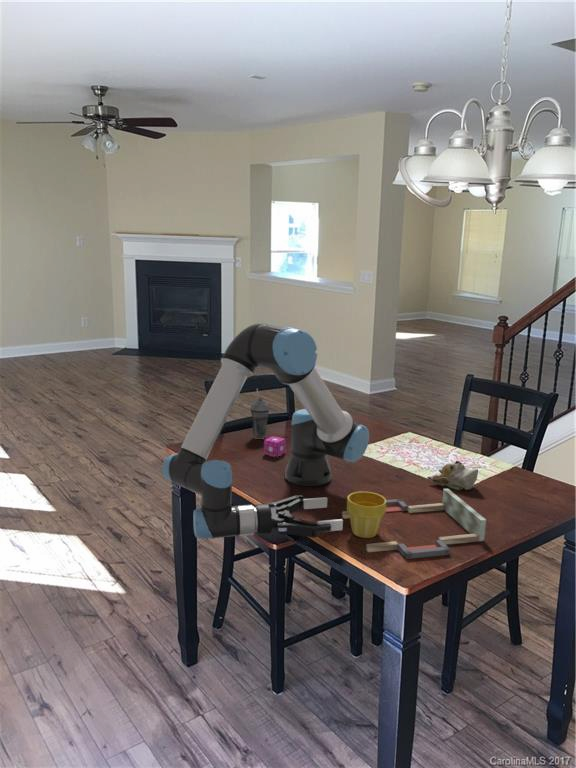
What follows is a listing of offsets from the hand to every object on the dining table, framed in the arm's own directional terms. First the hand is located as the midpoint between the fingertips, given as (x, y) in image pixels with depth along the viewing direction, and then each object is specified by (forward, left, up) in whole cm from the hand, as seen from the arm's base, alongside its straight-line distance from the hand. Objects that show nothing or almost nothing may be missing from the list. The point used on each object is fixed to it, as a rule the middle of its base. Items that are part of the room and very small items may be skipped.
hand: (334, 513), depth 162 cm
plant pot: (0, +9, -7) cm, 11 cm away
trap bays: (0, +20, -6) cm, 21 cm away
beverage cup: (-83, -4, -7) cm, 83 cm away
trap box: (0, +22, -6) cm, 23 cm away
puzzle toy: (-64, -2, -7) cm, 65 cm away
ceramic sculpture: (-26, +49, -7) cm, 56 cm away
